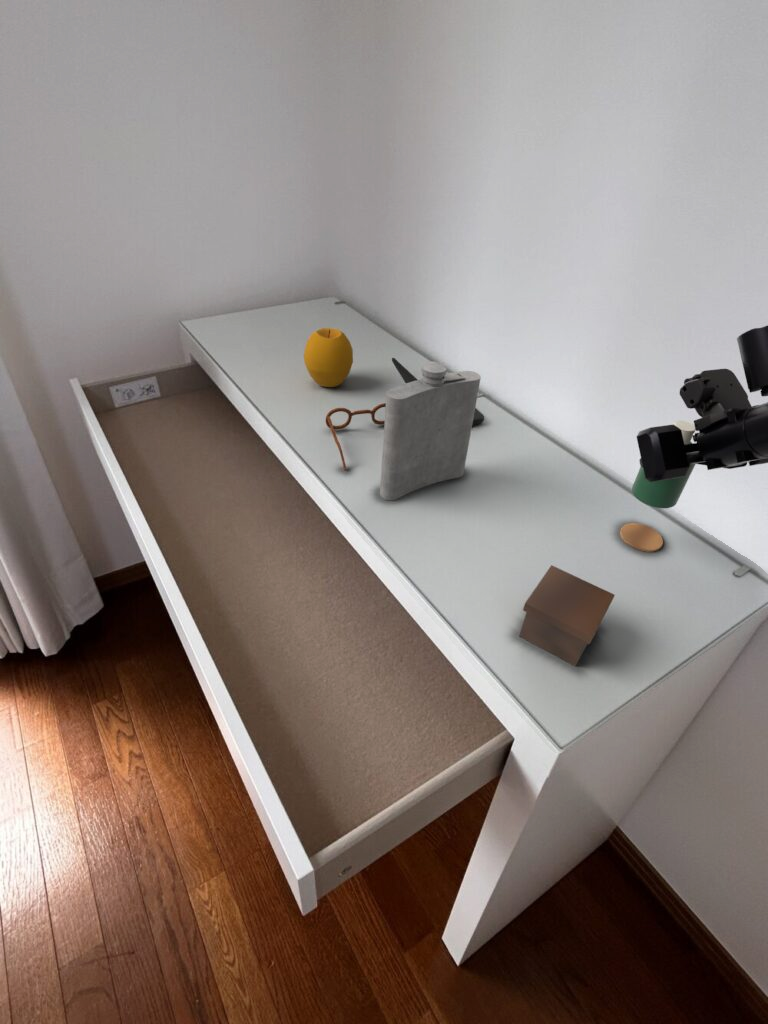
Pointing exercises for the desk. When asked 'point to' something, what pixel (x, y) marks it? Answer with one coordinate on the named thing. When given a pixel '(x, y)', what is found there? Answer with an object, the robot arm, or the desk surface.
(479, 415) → the game console
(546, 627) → the brown lidded box
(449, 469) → the hip flask
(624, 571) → the desk surface
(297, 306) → the desk surface
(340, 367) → the apple
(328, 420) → the glasses
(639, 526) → the coaster
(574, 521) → the desk surface
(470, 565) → the desk surface
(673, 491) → the bottle
